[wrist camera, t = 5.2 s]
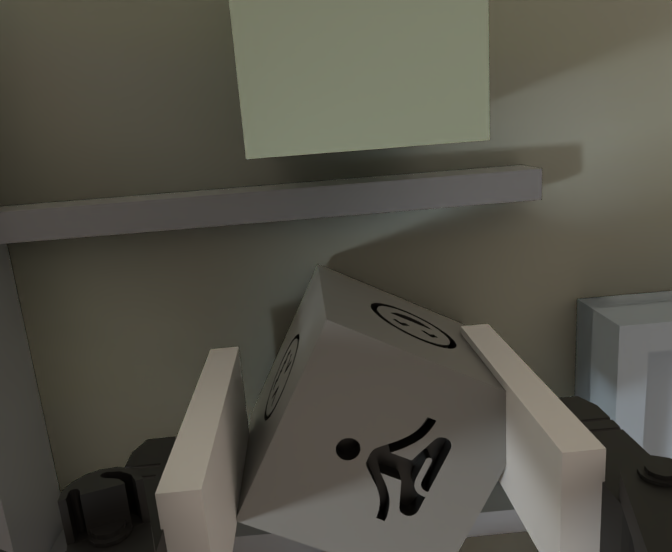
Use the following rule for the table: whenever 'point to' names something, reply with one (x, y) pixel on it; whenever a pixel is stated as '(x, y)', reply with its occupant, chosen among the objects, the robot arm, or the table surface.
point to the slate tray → (628, 364)
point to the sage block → (360, 74)
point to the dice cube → (372, 427)
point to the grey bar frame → (184, 213)
